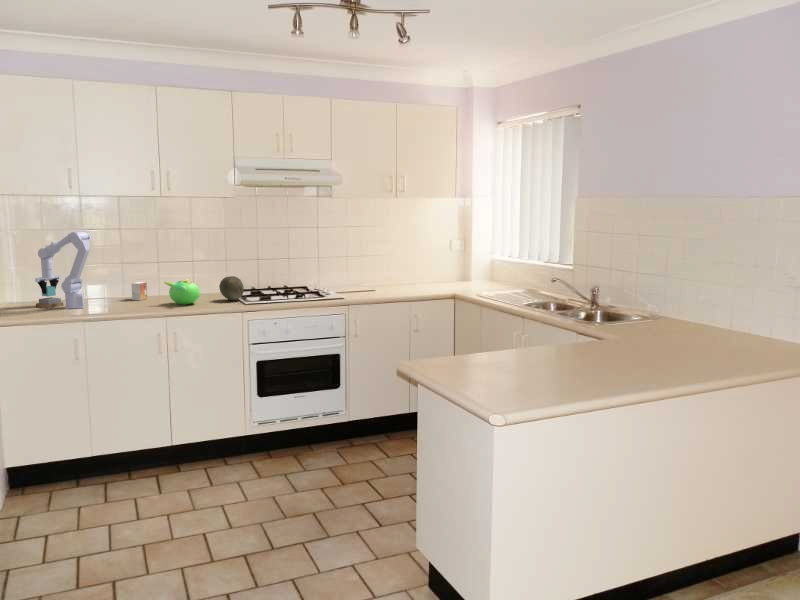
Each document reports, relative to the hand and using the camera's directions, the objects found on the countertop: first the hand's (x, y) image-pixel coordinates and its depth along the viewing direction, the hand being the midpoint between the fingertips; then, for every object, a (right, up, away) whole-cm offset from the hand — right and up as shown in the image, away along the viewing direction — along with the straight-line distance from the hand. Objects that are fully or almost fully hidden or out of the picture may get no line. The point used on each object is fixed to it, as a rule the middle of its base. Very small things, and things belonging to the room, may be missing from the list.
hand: (48, 293), depth 389 cm
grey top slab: (0, -6, +1) cm, 6 cm away
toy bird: (+73, -7, +12) cm, 75 cm away
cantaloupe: (+98, -5, +27) cm, 102 cm away
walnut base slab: (0, -8, +1) cm, 8 cm away
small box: (+42, -4, +27) cm, 50 cm away
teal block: (0, -1, 0) cm, 2 cm away
